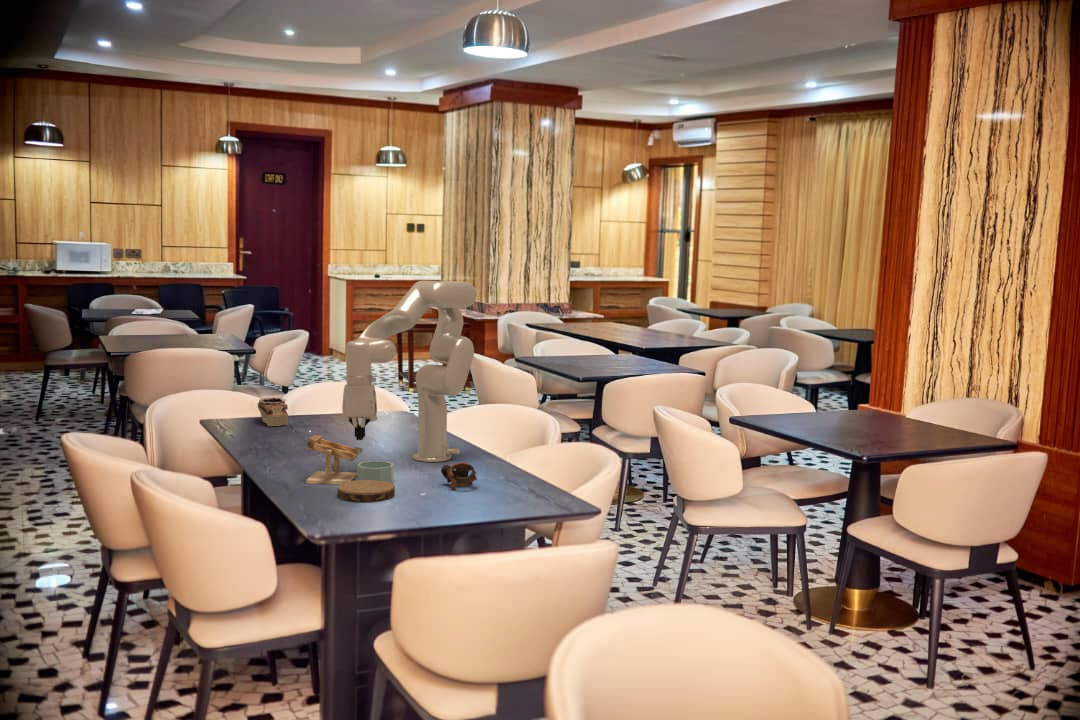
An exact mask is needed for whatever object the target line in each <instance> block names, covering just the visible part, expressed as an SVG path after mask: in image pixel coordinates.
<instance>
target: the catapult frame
mask: <svg viewBox="0 0 1080 720" xmlns="http://www.w3.org/2000/svg"><path fill="white" fill-rule="evenodd" d="M336 443H337V444H340V442H339V443H338V442H336ZM324 454H325V455H324V456H325V460H324V461H325V463H324V464H325V466H324V467H325V470H324V471H322V470H321V471H320V470H316V471H314V473H313V474H311V475H310V476H309V477H308V478H306V479H305V484H312V485H313V484H314V485H315V484H316V485H317V484H319V485H339V484H341V483H344V482H349V481H355V480H357V472H349V471H347V472H345V471H341V469H340V468H341V467H340V466H341V465H340V463H341V460H340V459H341V458H340V457H336V456H333V455H332V450H325V453H324ZM332 456H333V457H332ZM332 459H333V460H332ZM332 461H333V462H332ZM332 463H333V465H332ZM332 467H333V471H332Z"/></svg>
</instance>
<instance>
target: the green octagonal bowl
mask: <svg viewBox="0 0 1080 720" xmlns="http://www.w3.org/2000/svg"><path fill="white" fill-rule="evenodd" d="M356 473H357V478H356V480H380V481H386V482H390V483H392V484H393V482H394V481H395V463H393V462H389V461H386V460H368V461H361V462H359V463H358V464H356Z"/></svg>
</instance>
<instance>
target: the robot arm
mask: <svg viewBox="0 0 1080 720" xmlns="http://www.w3.org/2000/svg"><path fill="white" fill-rule="evenodd" d="M476 299H477V290H476V288H475V286H474V285H473V284H472V283H470V282H468V281H457V280H455V281H454V280H437V281H436V280H420V281H417V282H415V283H414V284H413V285H412V286H411V287H410V289H409V290H408V291H407V292H406V293H405V294H404V296H403V297H402V298H401V300H400V301H399V302H398V303H397V305H396V306H395V307H394V308H392V310H391V311H389V312H387V313H385V314H383V315H382V316H381V317H379V318H378V319H376V320H374V321H373V322H371V323H370V324H369V325H368V326H367V327H366V328H365V329H364V330H363V331H362V333H361V334H360V335H359V336H358V337H357V339H356V340H349V341H348V342H347V343H346V344H345V365H346V384H344V387H343V395H342V405H341V406H342V408H341V409H342V410H341V411H342V412H341V413H342V417H341V420H342V421H344V422H348V423H350V424H351V425H352V427H353V428H354V438H355V439H356V441H363V439H364V438H366V426H367V425H368V424H369V423H371V422H375V421H377V420H378V416H377V414H378V404H377V403H378V401H377V393H376V392H377V391H376V388H375V384H373V383H374V382H377V376H375V377H374V376H373V375H372V363H376V364H386V363H389V362H391V361H392V360H393V359H394V358H395V357H396V354H397V347H396V346H395V343H393V342H392V341H391V340H389V339H387V338H388V337H391V336H393V335H396V334H399V333H403V332H406V331H408V330H409V331H410V330H411V329H413V328H414V327H416V324H417V323H418V322H419V321H420V319H422V317H423V315H424V314H425V313H426V312H427V310H428V309H430V308H436V309H437V312H438V319H437V324H436V327H435V331H434V334H433V337H432V339H431V343H430V346H429V356H430V358H431V359H432V360H433V361H436V362H437V363H438V362H439V363H443V364H444V363H445V364H447V365H446V366H445V365H441V364H425V365H423V366H421V367H420V368H419V369H418V370H417V372H416V375H415V385H416V386H415V387H416V390H417V396H418V397H417V399H418V400H417V401H418V402H417V403H418V413H417V414H418V415H417V416H418V421H417V422H418V423H417V425H418V426H417V432H418V433H417V434H418V435H417V452H415V453H413V456H412V458H413V460H415V461H419V462H427V463H438V462H439V463H440V462H447V461H449V460H451V459H452V455H458V456H459V455H460V448H457V447H450V446H449V443H447V440H448V439H447V434H448V431H447V429H448V426H447V425H448V404H447V399H446V397H445V396H448V397H455V396H457V395H459V394H460V393H461V392H462V391H463V389H464V387H465V385H466V382H467V379H468V375H469V373H470V370H471V366H472V363H473V360H474V356H475V348H474V344H473V342H472V340H471V339H470V338H468V337H466V336H464V335H462V331H463V327H464V317H463V314H462V311H461V309H463V308H465V309H466V308H469V307H471V306H472V305H473V304H474V303H475V301H476ZM359 418H360V419H361V420H360V422H359Z"/></svg>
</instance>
